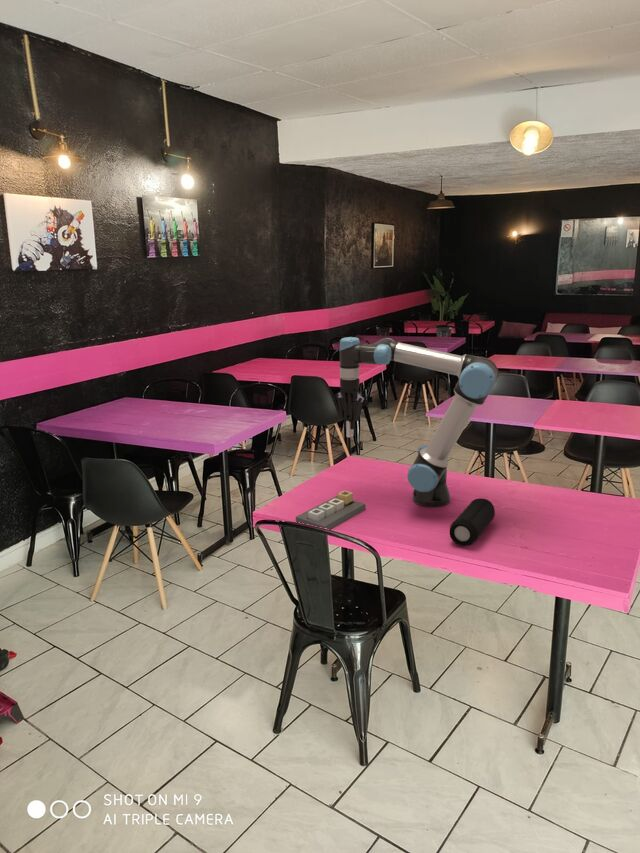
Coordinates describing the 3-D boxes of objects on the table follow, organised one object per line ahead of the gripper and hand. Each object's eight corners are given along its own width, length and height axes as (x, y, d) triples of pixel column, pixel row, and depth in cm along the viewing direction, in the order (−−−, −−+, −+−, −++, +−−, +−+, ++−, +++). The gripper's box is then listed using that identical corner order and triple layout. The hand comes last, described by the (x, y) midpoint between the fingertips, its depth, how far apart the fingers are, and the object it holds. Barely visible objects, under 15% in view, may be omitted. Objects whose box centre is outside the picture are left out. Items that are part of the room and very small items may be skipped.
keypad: (365, 509, 249) (365, 503, 248) (324, 532, 229) (324, 526, 229) (337, 501, 257) (337, 495, 256) (295, 522, 238) (295, 516, 237)
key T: (343, 508, 245) (343, 500, 244) (337, 512, 242) (336, 504, 241) (335, 506, 248) (335, 498, 247) (328, 509, 245) (328, 501, 244)
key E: (324, 519, 236) (324, 510, 235) (317, 523, 233) (317, 514, 232) (315, 516, 239) (315, 507, 238) (308, 520, 236) (308, 511, 235)
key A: (334, 514, 241) (334, 505, 240) (327, 517, 238) (327, 509, 237) (325, 511, 243) (325, 502, 242) (318, 515, 240) (318, 506, 239)
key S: (353, 500, 249) (352, 492, 248) (346, 504, 246) (346, 496, 245) (344, 498, 252) (344, 490, 251) (337, 501, 249) (337, 493, 248)
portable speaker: (470, 518, 240) (471, 493, 237) (496, 523, 235) (497, 498, 232) (446, 545, 219) (447, 519, 216) (474, 551, 214) (475, 525, 211)
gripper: (369, 378, 240) (368, 436, 246) (342, 374, 247) (342, 431, 254) (357, 381, 234) (357, 441, 241) (330, 377, 242) (331, 435, 249)
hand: (349, 436), depth 247 cm, fingers closed
